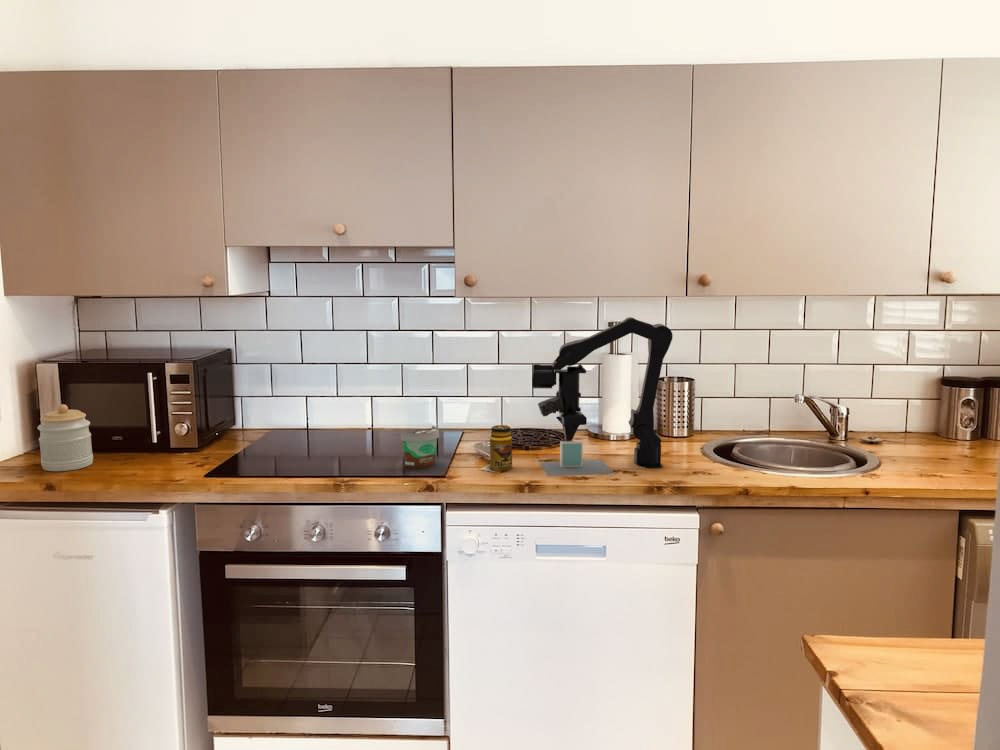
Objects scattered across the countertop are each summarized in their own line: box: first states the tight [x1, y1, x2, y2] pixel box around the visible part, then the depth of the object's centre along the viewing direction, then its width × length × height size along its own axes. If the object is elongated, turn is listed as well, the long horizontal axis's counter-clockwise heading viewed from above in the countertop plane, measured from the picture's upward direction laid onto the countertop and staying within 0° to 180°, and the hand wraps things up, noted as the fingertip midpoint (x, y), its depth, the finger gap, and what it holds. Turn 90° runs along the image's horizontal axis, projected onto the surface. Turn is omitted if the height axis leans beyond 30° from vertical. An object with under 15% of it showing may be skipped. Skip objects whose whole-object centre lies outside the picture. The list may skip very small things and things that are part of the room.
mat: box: [539, 459, 615, 477], centre depth 218 cm, size 18×14×1 cm
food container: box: [400, 425, 440, 469], centre depth 222 cm, size 12×6×10 cm, turn 137°
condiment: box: [479, 424, 513, 474], centre depth 218 cm, size 7×8×12 cm
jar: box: [37, 403, 94, 472], centre depth 222 cm, size 13×13×18 cm
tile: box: [559, 440, 584, 467], centre depth 219 cm, size 6×2×7 cm, turn 97°
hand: (568, 443), depth 223 cm, fingers closed
